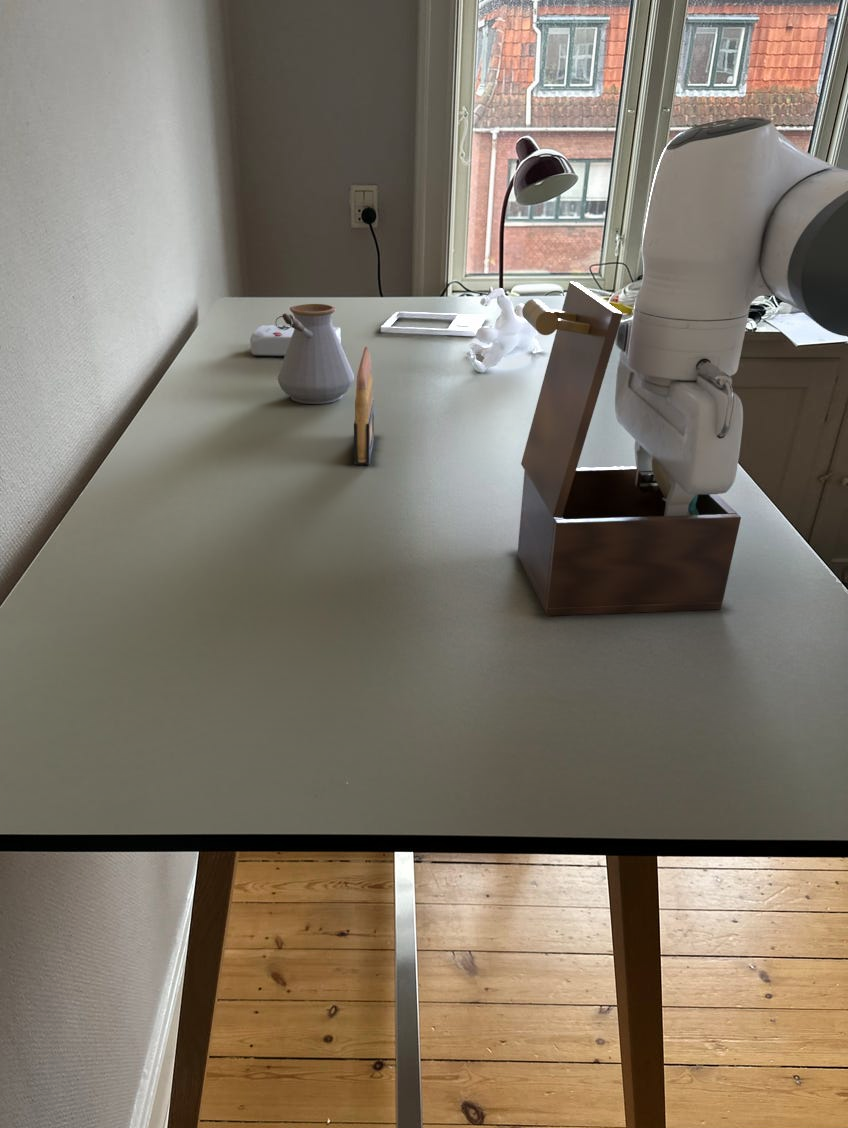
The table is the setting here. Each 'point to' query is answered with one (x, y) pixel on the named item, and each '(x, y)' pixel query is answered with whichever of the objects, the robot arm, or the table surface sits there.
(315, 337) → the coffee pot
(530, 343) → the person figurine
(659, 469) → the whale figurine
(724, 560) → the compartment
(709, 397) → the robot arm
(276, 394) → the table surface
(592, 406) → the compartment lid
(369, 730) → the table surface
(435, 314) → the photo frame
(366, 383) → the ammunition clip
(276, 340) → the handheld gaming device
